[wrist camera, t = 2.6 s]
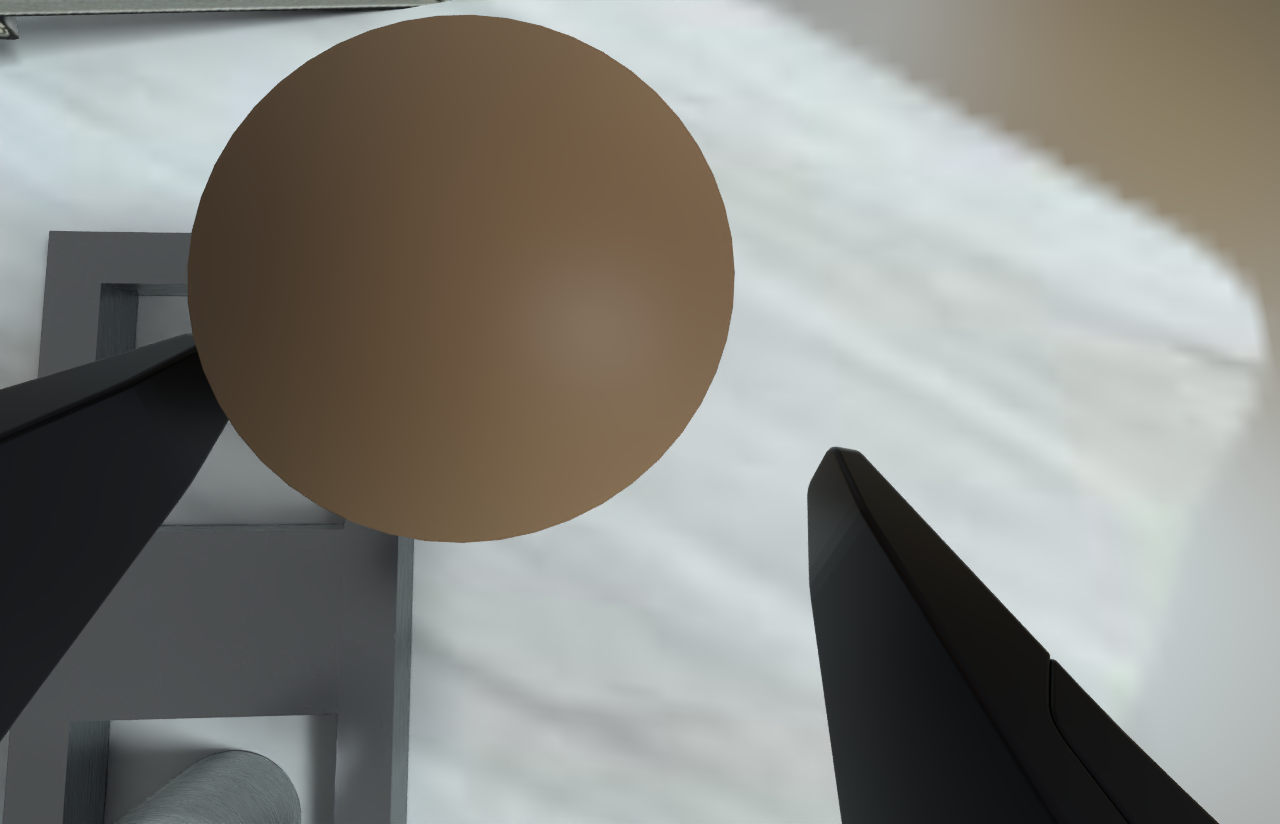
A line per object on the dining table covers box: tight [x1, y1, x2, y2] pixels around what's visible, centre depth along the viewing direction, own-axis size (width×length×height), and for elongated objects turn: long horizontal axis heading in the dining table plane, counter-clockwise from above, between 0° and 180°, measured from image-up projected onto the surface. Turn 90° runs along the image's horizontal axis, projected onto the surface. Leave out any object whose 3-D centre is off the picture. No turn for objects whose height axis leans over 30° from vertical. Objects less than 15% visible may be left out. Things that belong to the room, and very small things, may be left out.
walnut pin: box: [187, 15, 735, 543], centre depth 10 cm, size 4×4×13 cm
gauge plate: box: [3, 231, 414, 824], centre depth 15 cm, size 22×10×1 cm, turn 0°
